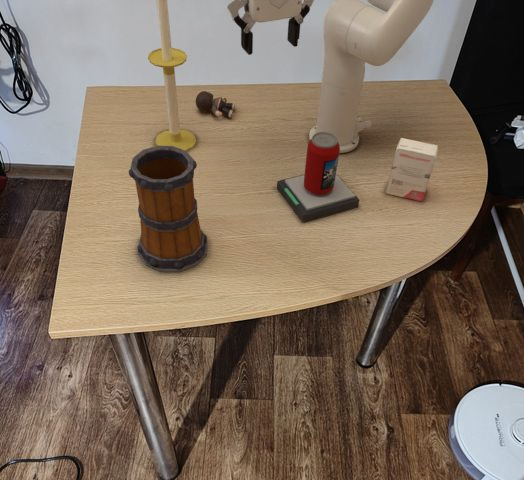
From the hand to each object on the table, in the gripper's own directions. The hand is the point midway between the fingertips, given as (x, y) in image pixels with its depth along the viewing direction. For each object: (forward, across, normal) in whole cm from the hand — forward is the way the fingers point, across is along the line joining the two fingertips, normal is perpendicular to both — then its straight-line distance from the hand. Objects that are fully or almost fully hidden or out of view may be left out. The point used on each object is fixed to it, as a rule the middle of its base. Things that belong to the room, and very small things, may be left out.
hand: (270, 47), depth 107 cm
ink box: (+28, +27, -19) cm, 44 cm away
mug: (+28, -28, -14) cm, 42 cm away
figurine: (+28, -1, +29) cm, 41 cm away
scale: (+28, +7, -13) cm, 32 cm away
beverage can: (+26, +7, -13) cm, 30 cm away
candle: (+28, -15, +20) cm, 38 cm away
